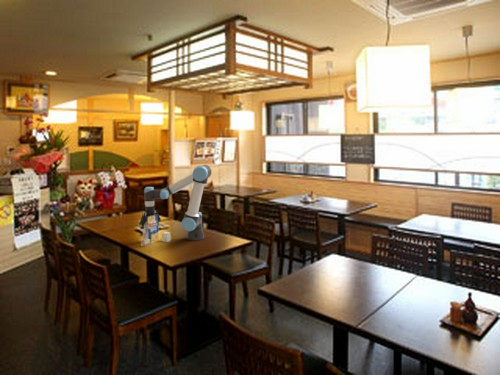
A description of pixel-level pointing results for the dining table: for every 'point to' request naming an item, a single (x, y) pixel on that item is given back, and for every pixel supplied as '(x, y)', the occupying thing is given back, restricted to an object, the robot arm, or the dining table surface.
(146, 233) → the beverage box
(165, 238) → the white plastic block
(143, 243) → the maple cube
